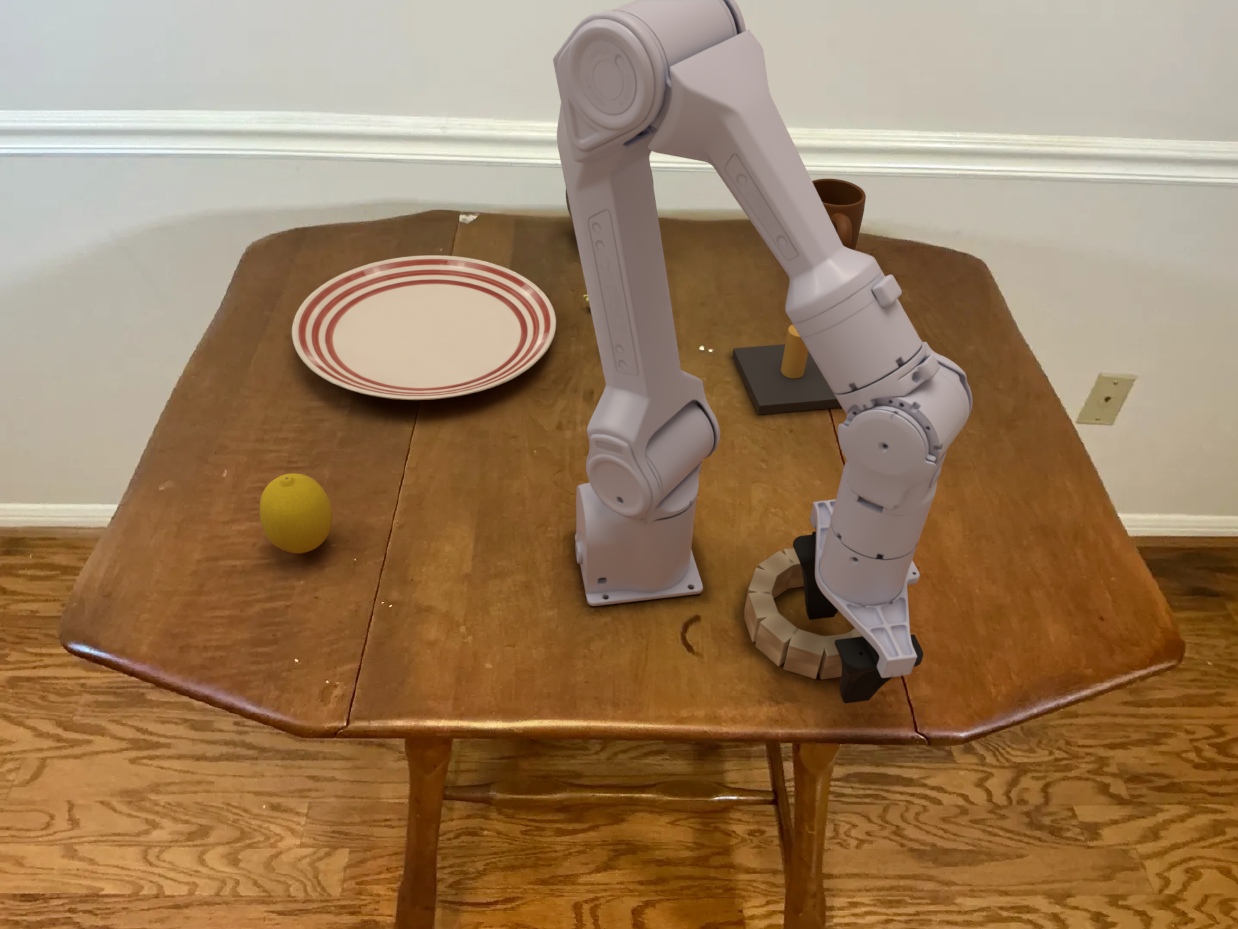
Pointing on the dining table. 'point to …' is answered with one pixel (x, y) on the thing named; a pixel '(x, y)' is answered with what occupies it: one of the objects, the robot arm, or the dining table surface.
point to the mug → (843, 207)
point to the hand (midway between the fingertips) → (837, 655)
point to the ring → (787, 622)
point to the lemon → (295, 513)
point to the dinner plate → (424, 327)
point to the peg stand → (783, 377)
